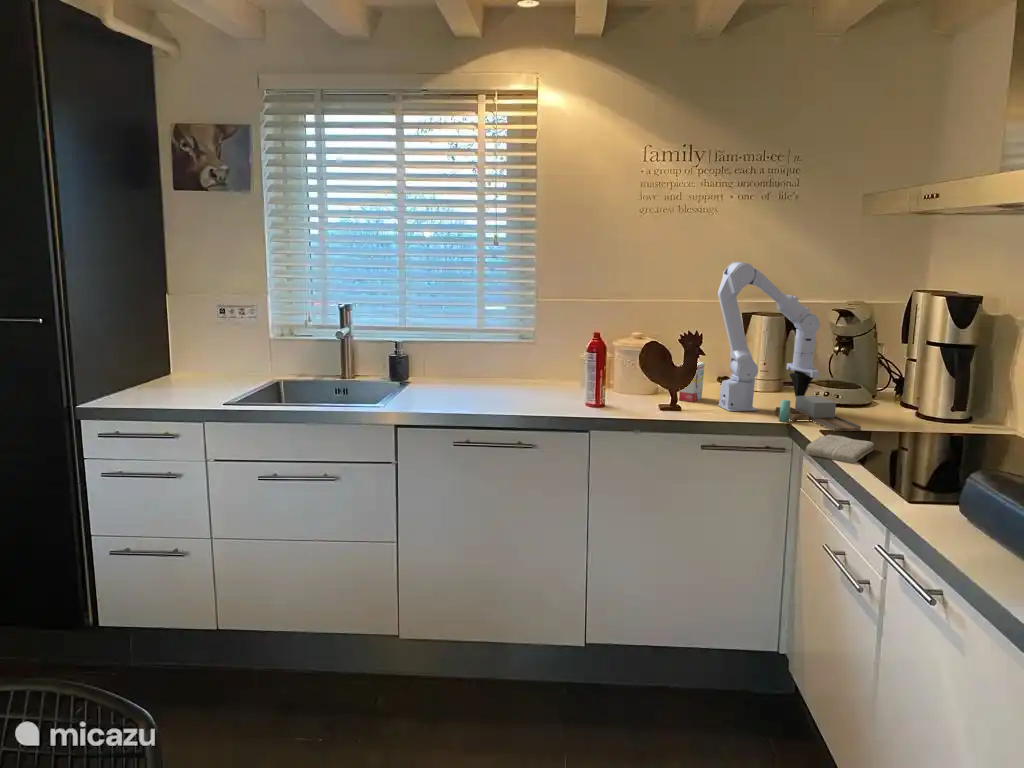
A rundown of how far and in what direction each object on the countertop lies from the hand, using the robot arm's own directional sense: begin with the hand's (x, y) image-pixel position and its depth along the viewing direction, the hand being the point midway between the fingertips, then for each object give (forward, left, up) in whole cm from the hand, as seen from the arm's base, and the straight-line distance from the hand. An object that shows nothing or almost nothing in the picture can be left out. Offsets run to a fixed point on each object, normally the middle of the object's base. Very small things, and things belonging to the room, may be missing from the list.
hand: (799, 397), depth 247 cm
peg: (-12, -13, -4) cm, 19 cm away
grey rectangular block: (0, -9, -4) cm, 10 cm away
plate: (0, -14, -4) cm, 15 cm away
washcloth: (-15, -45, -5) cm, 48 cm away
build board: (-7, -9, -4) cm, 12 cm away
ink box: (-27, +18, -4) cm, 33 cm away
